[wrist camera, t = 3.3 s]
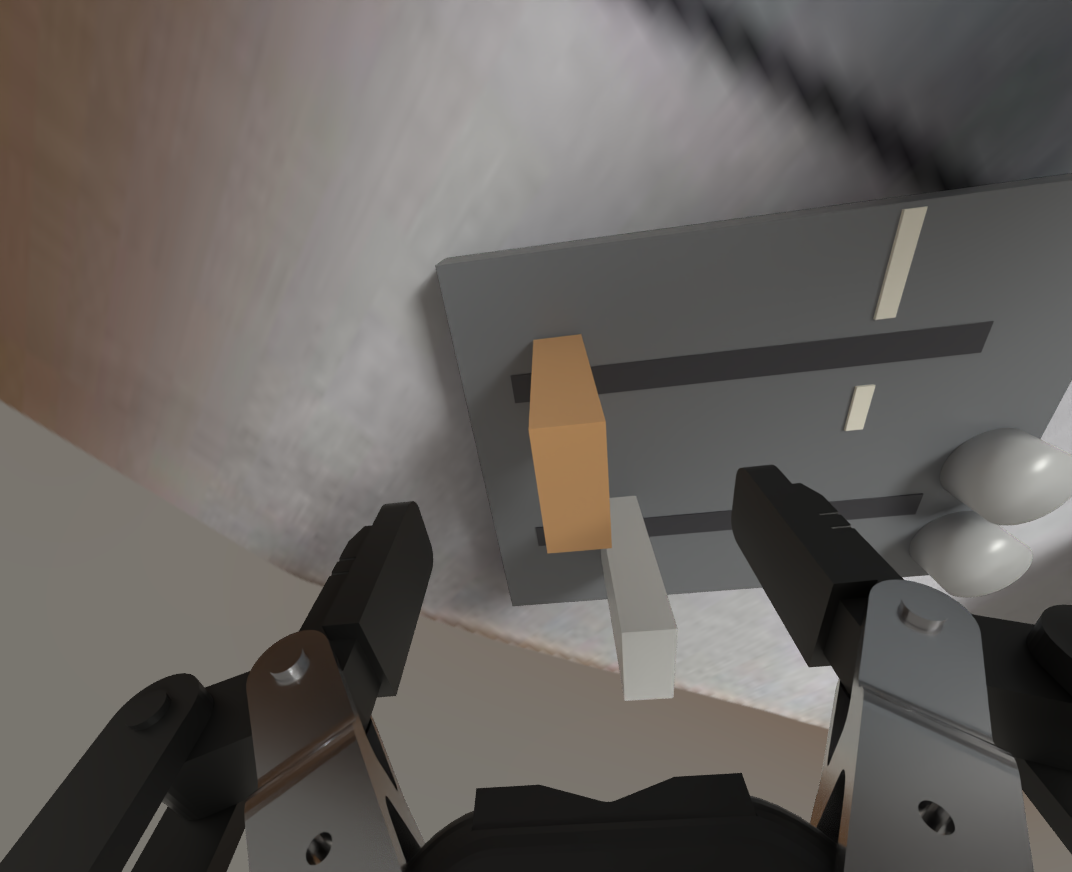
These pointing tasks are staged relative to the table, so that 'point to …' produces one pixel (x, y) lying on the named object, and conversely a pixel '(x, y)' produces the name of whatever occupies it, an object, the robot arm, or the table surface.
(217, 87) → the table surface
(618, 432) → the console
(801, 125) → the table surface
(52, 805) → the robot arm
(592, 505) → the fader cap
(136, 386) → the table surface
